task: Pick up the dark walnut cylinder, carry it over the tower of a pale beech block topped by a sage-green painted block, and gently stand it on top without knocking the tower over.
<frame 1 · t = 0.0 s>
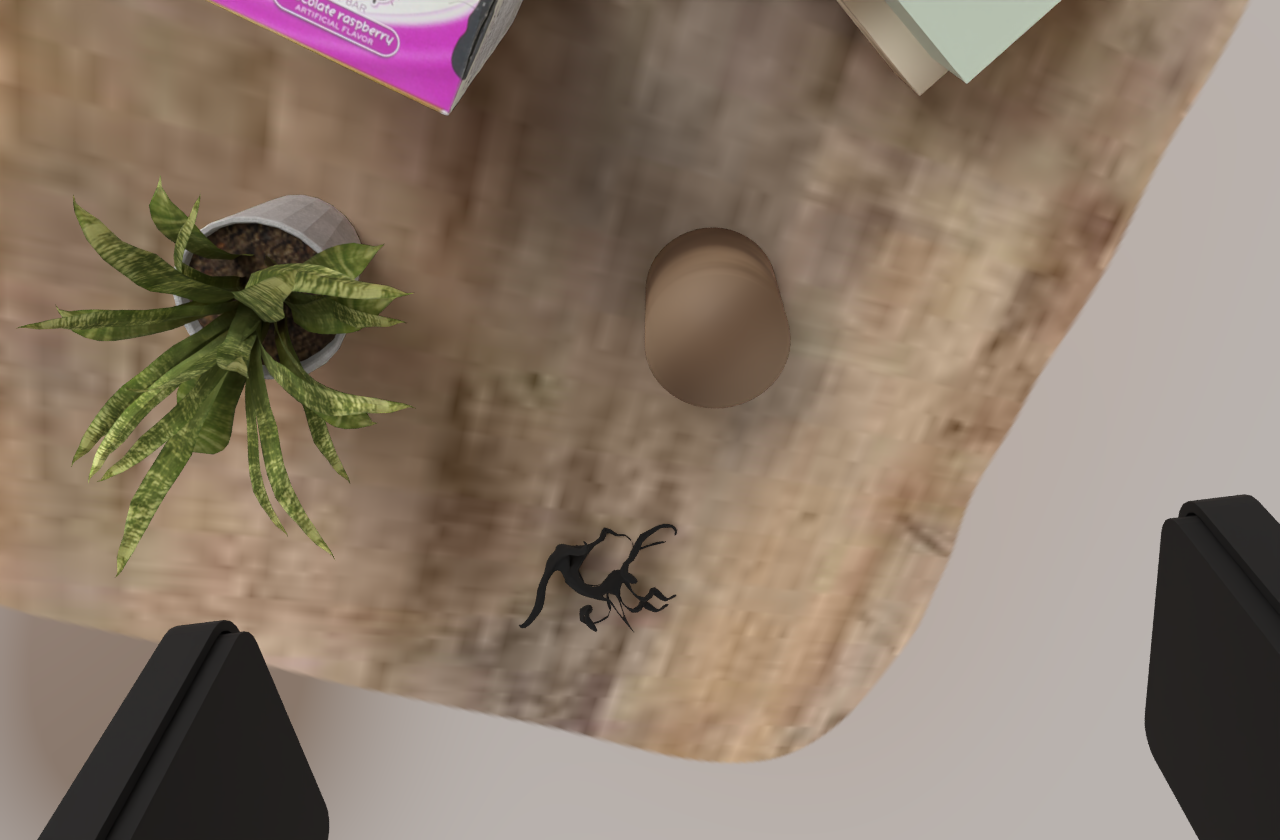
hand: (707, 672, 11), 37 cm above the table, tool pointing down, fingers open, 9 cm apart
walnut cylinder: (710, 290, 49), on the table
creature: (615, 559, 56), on the table
house plant: (313, 276, 49), on the table
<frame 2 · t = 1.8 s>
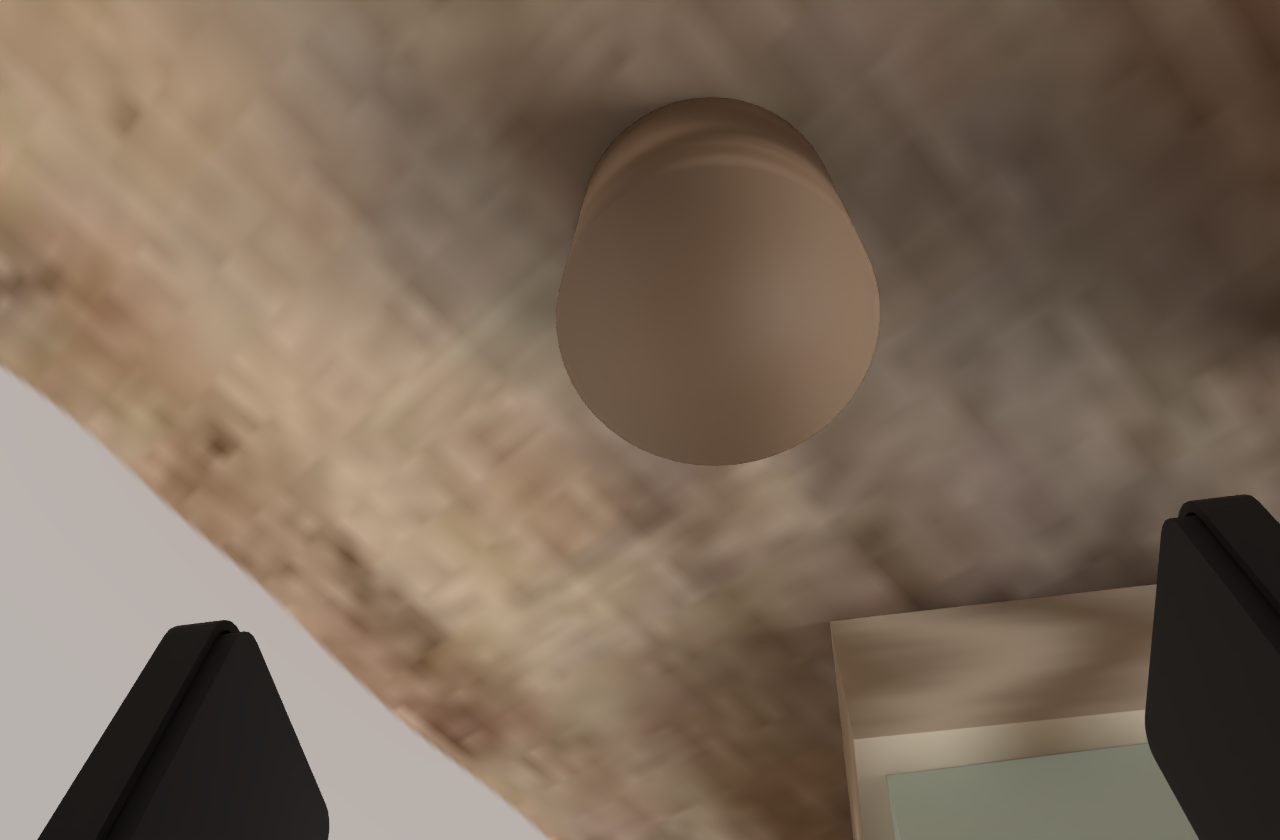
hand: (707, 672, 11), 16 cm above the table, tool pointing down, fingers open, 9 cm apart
walnut cylinder: (708, 227, 25), on the table
tower base: (1038, 743, 33), on the table
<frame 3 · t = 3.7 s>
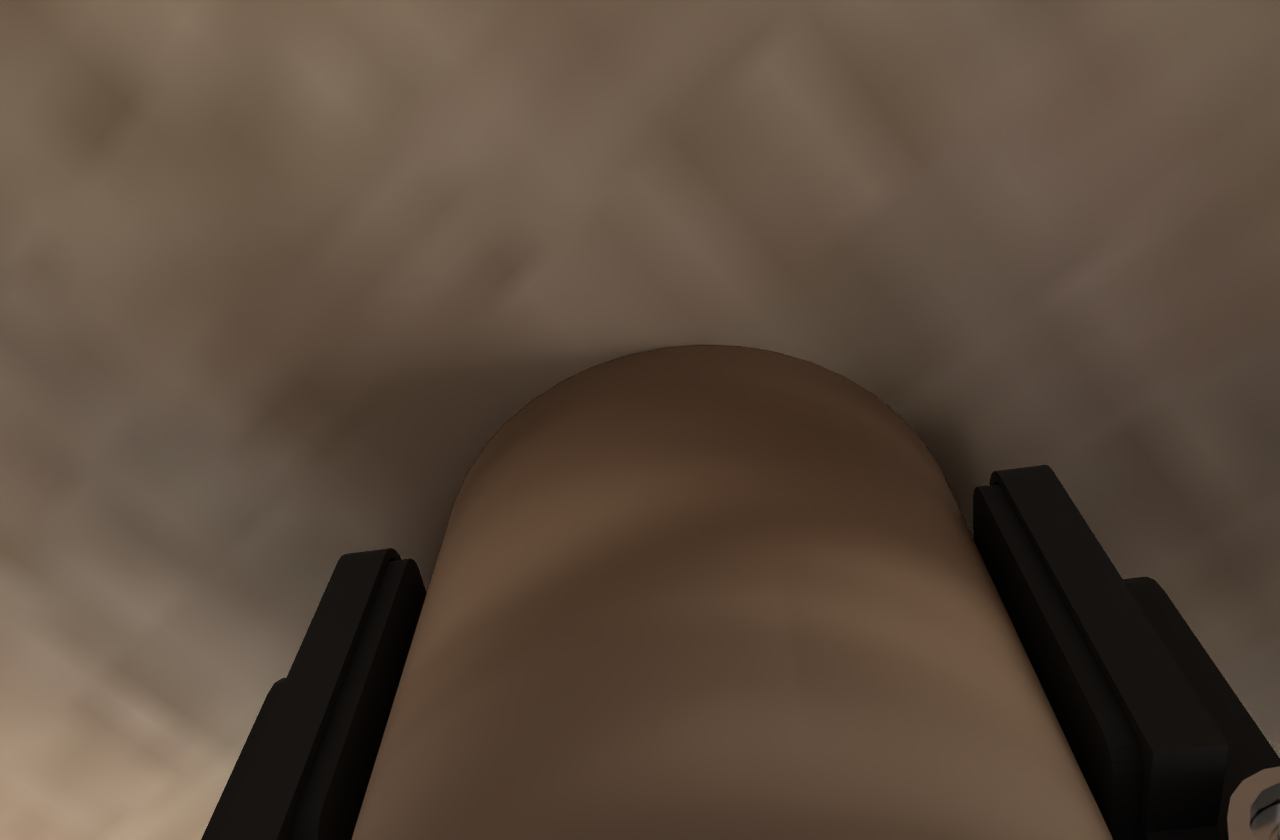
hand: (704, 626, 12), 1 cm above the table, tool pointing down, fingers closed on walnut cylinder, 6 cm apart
walnut cylinder: (701, 579, 12), on the table, touching gripper
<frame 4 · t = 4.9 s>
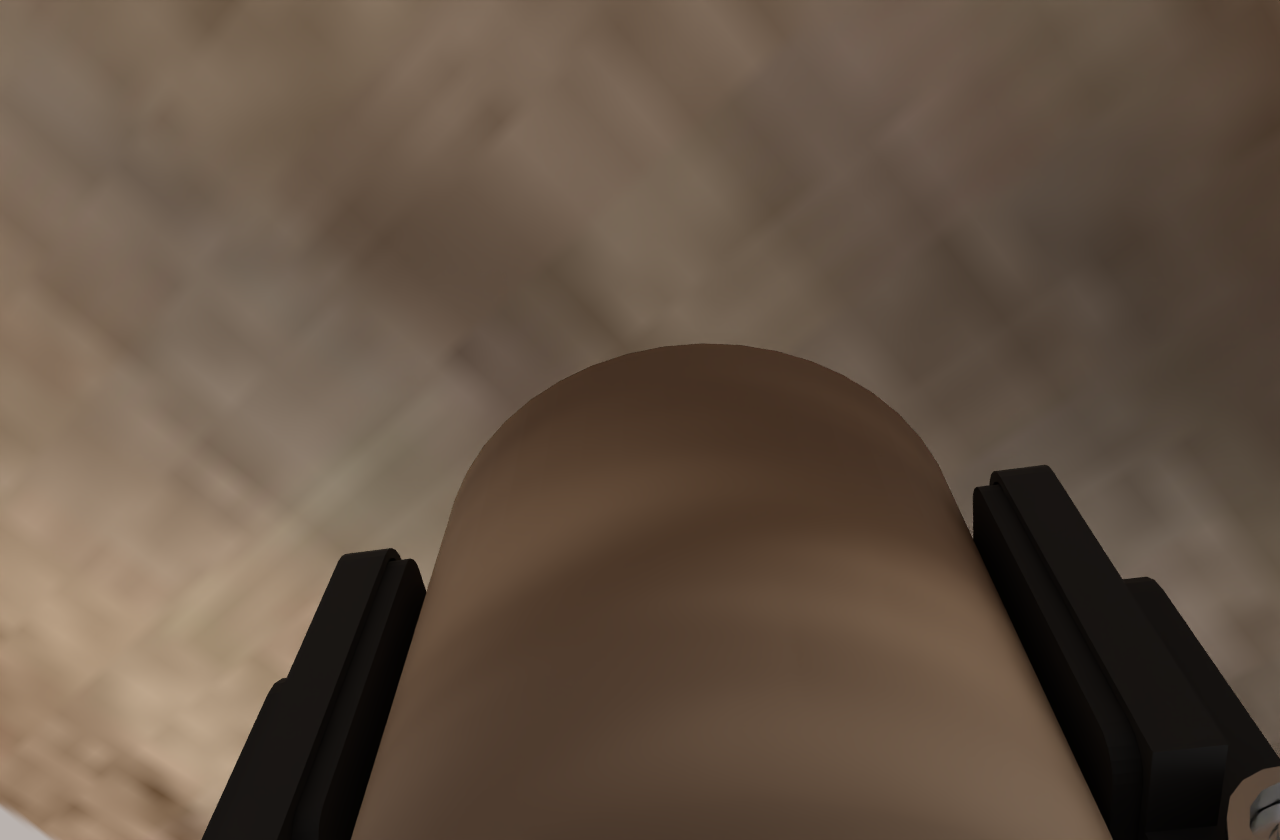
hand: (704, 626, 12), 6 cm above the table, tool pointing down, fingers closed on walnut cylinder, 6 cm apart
walnut cylinder: (701, 577, 12), point 5 cm above the table, touching gripper
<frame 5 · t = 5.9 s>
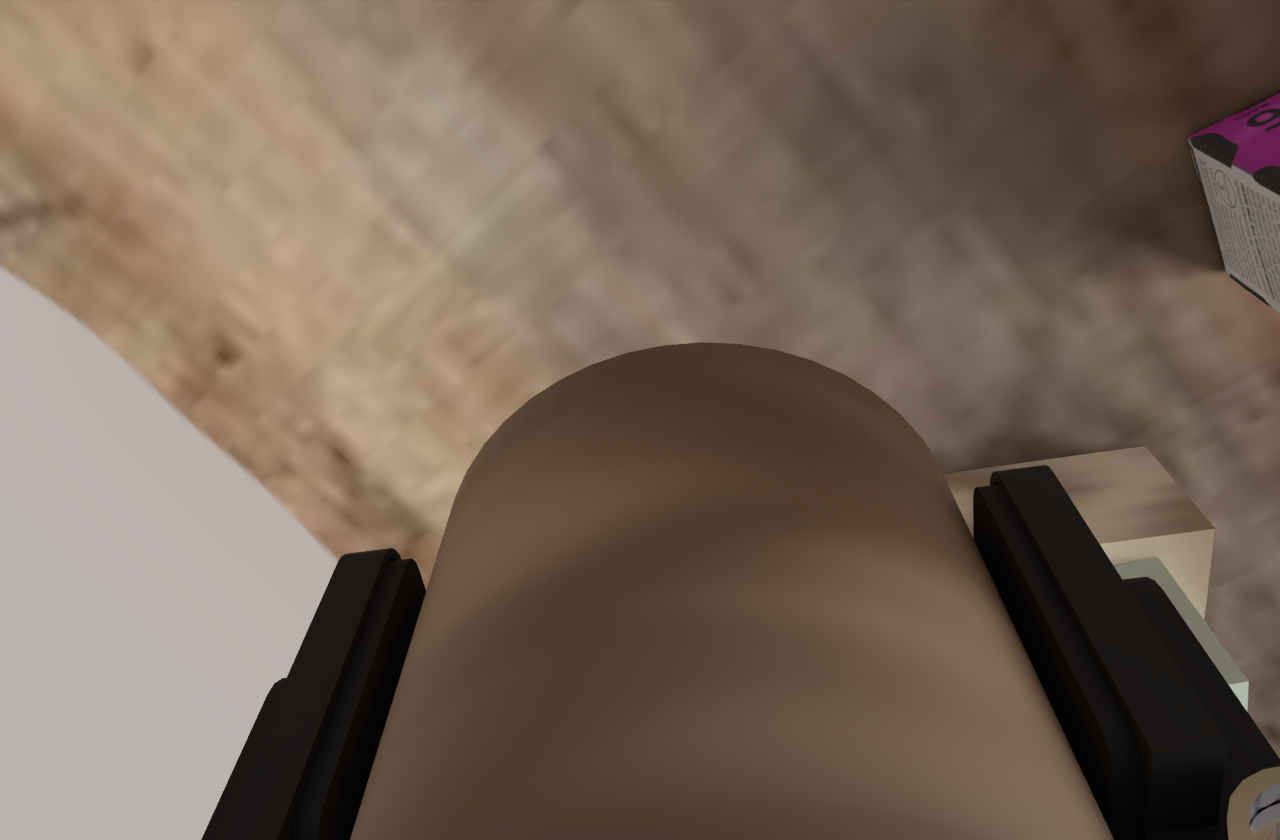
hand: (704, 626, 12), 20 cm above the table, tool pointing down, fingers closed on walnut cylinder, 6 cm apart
walnut cylinder: (701, 576, 12), point 19 cm above the table, touching gripper
tower top: (994, 716, 33), point 5 cm above the table, touching tower base
tower base: (954, 610, 37), on the table, touching tower top
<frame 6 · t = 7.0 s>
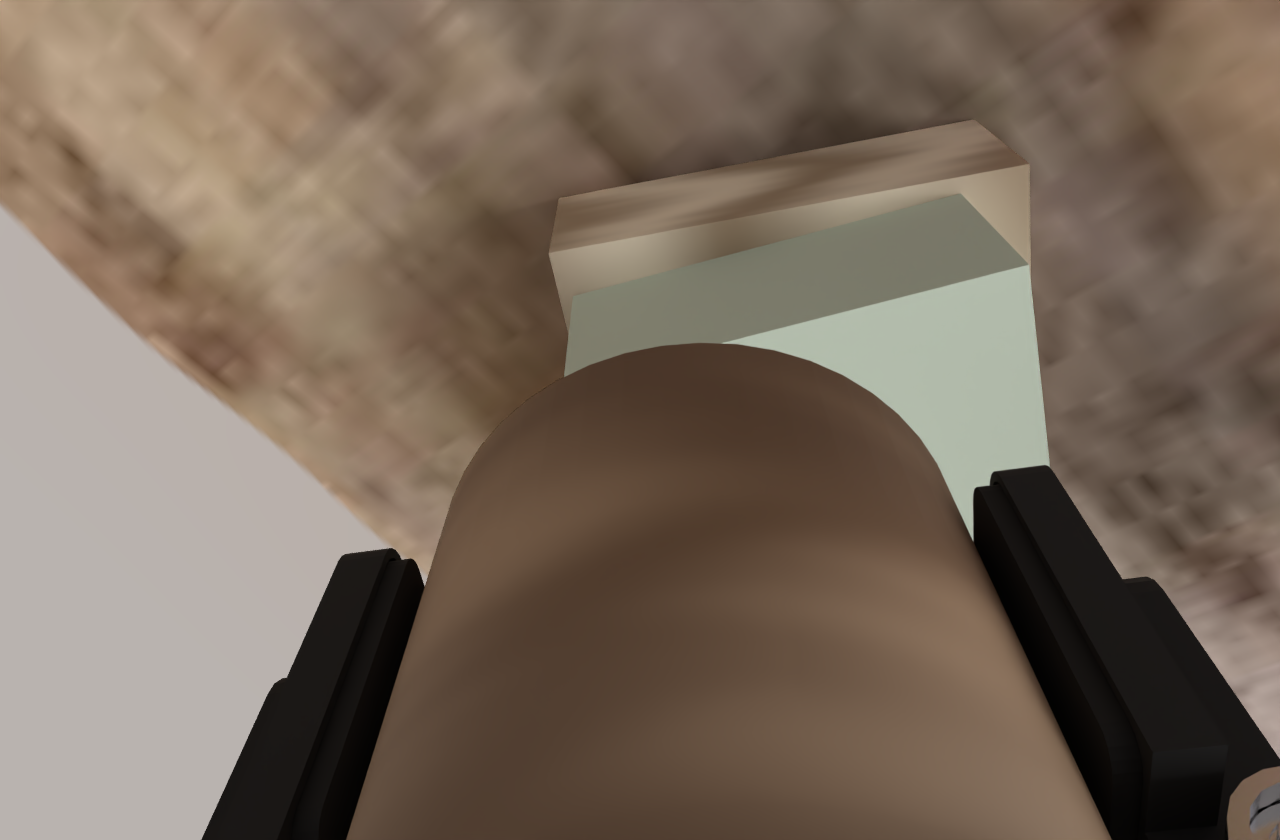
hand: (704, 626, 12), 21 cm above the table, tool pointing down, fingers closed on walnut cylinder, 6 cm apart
walnut cylinder: (699, 577, 12), point 20 cm above the table, touching gripper
tower top: (801, 413, 29), point 5 cm above the table, touching tower base
tower base: (786, 341, 33), on the table, touching tower top
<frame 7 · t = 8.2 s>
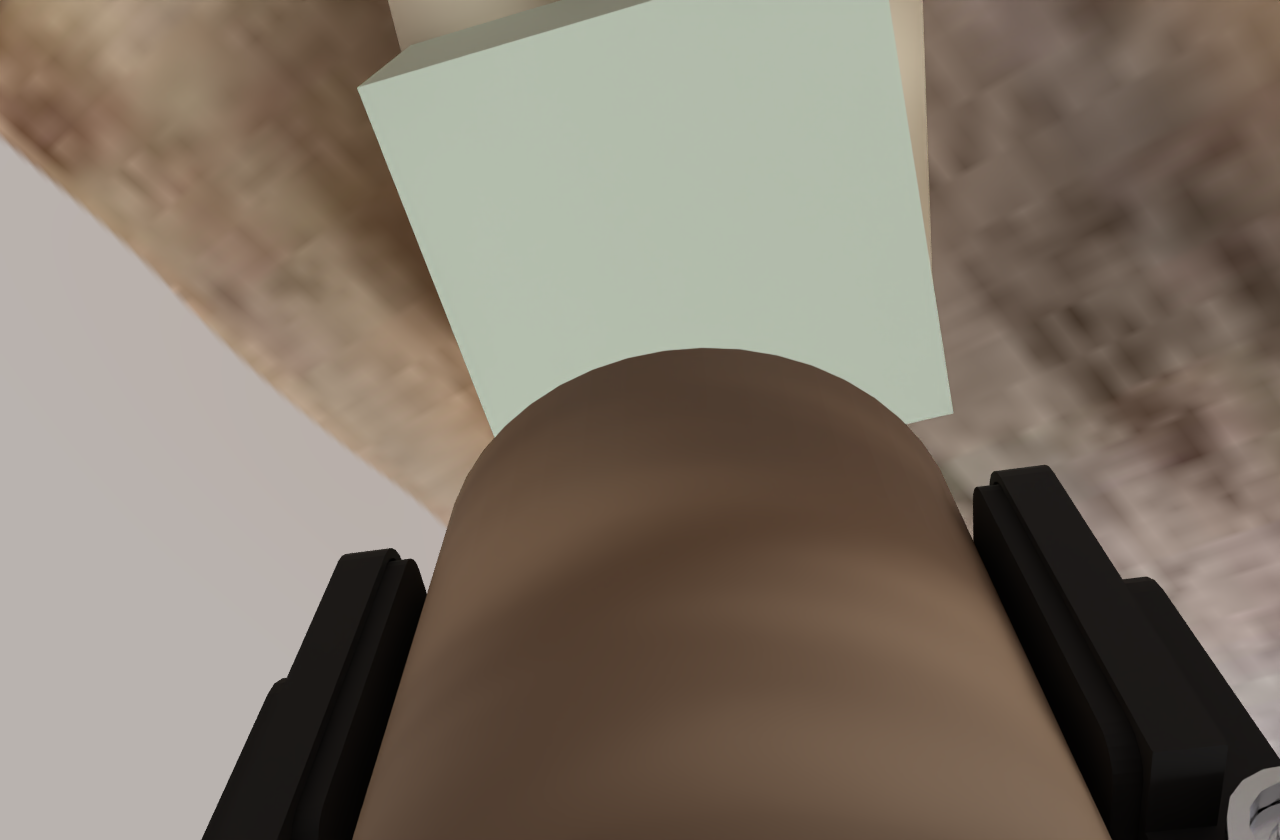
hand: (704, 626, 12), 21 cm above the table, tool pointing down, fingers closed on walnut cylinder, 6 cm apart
walnut cylinder: (701, 582, 12), point 20 cm above the table, touching gripper
tower top: (673, 192, 26), point 5 cm above the table, touching tower base
tower base: (677, 138, 30), on the table, touching tower top
when the fingers open (11 cm above the table, at t = 10.7 s): walnut cylinder drops 1 cm, resting on tower top.
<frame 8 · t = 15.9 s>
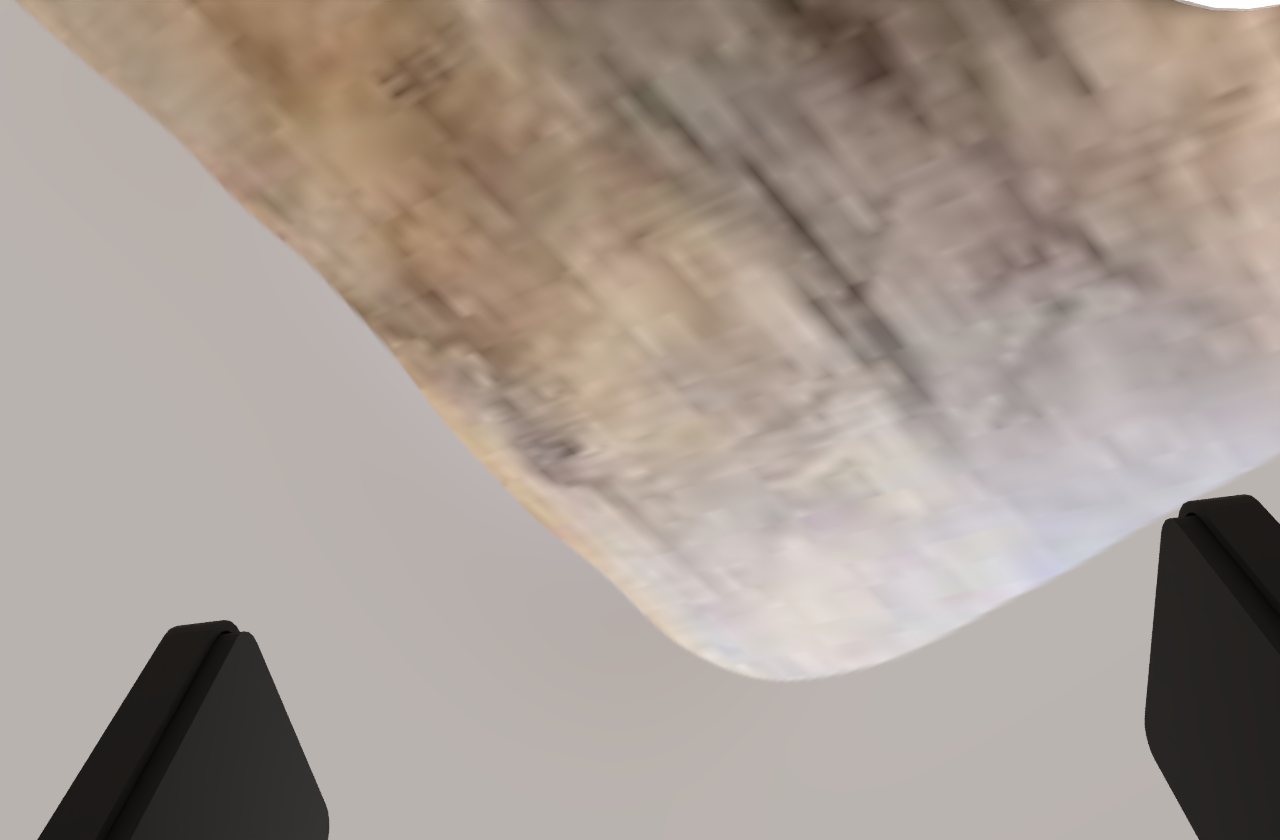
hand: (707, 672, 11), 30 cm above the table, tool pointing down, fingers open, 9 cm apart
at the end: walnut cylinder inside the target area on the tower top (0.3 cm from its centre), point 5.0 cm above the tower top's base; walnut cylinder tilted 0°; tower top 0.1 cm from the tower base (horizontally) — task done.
